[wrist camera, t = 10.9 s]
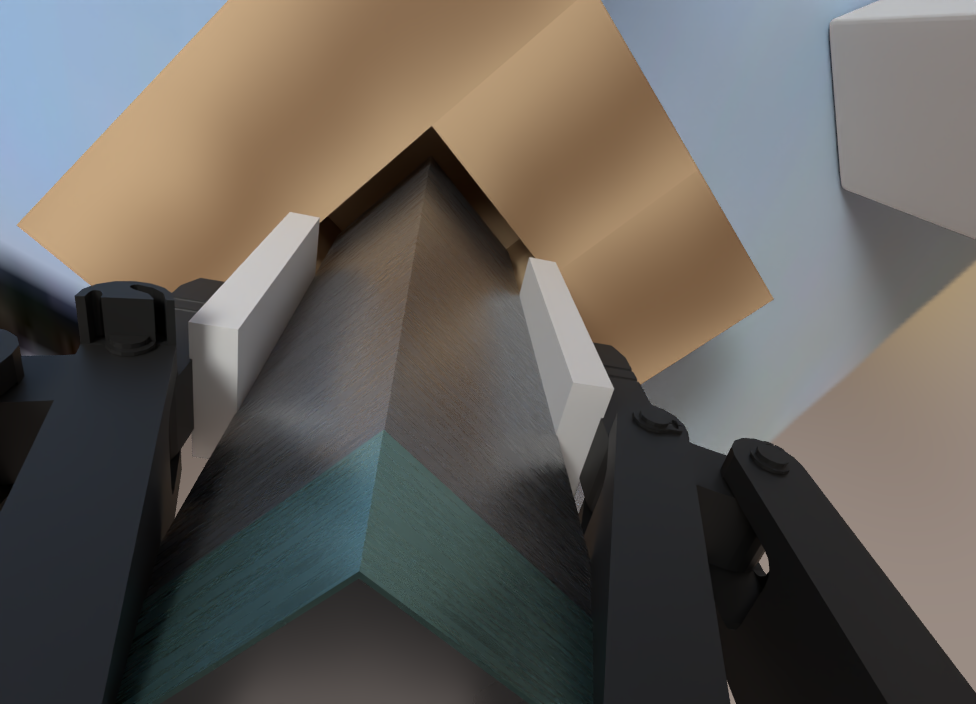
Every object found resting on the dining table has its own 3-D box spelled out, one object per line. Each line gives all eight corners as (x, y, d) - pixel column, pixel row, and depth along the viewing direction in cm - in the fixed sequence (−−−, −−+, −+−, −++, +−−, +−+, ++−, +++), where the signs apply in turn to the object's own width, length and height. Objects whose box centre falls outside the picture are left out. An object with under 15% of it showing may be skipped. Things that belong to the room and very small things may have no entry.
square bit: (336, 234, 19) (6, 794, 5) (431, 153, 18) (358, 571, 4) (418, 321, 21) (349, 925, 7) (510, 252, 20) (660, 794, 6)
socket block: (158, 164, 24) (16, 224, 16) (456, -134, 20) (458, -245, 12) (414, 408, 31) (401, 537, 23) (677, 221, 27) (773, 299, 19)
